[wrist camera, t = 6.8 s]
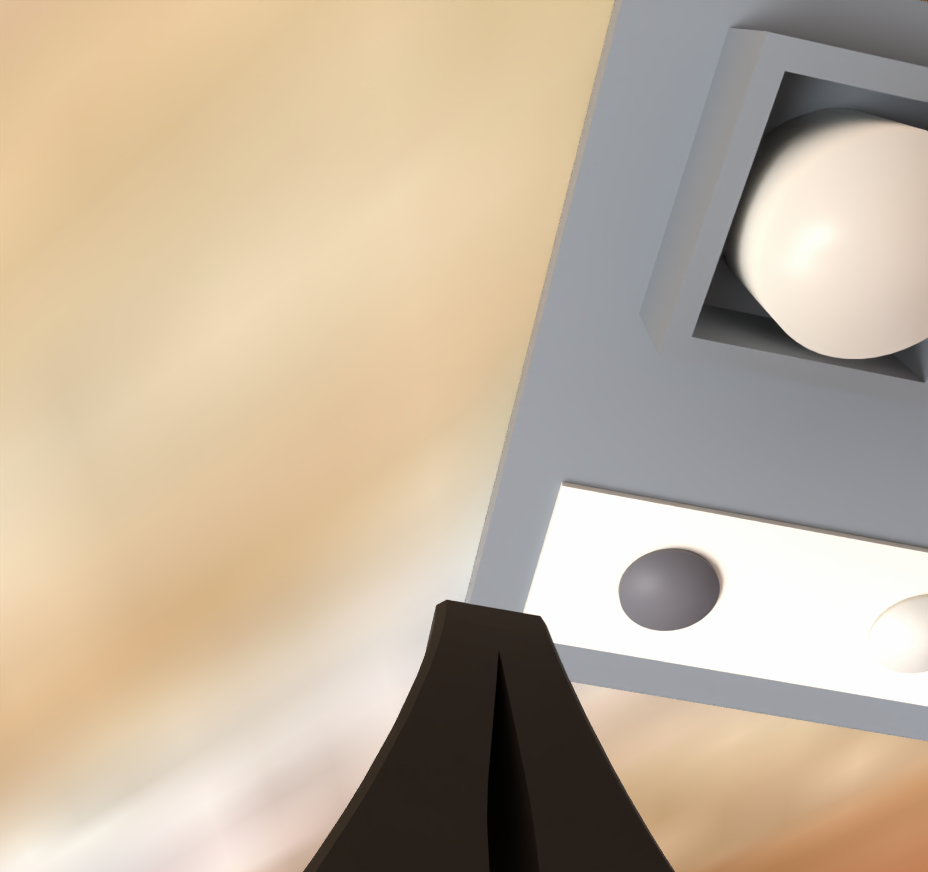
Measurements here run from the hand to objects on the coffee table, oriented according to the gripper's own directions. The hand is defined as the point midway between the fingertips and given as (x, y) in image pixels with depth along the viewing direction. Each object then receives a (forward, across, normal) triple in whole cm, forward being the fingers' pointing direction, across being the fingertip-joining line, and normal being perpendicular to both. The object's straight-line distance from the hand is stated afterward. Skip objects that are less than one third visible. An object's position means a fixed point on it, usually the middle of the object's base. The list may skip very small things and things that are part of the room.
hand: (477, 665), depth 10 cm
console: (+10, -13, 0) cm, 17 cm away
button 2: (+9, -6, -5) cm, 12 cm away
